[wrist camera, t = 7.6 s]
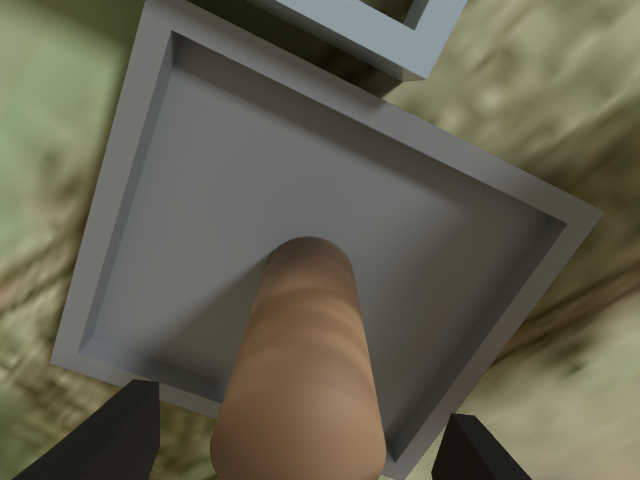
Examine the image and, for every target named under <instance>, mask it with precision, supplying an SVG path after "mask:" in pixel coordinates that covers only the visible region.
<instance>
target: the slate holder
mask: <svg viewBox="0 0 640 480" xmlns="http://www.w3.org/2000/svg"><path fill="white" fill-rule="evenodd" d="M245 1H247V2H249V3H251V4H253V5H255V6H257V7H259V8H261V9H263V10H265V11H267V12H269V13H270V14H272V15H274V16H276V17H278V18H280V19H282V20H284V21H286V22H288V23H290V24H292V25H294V26H296V27H298V28H299V29H301V30H303V31H305V32H307V33H309V34H311V35H313V36H315V37H317V38H319V39H321V40H323V41H325V42H327V43H328V44H330V45H332V46H334V47H336V48H338V49H340V50H342V51H344V52H346V53H348V54H350V55H352V56H354V57H356V58H357V59H359V60H361V61H363V62H365V63H367V64H369V65H371V66H373V67H375V68H377V69H379V70H381V71H383V72H385V73H386V74H388V75H390V76H392V77H394V78H396V79H398V80H400V81H402V82H409V81H418V80H427V78H428V76H429V74H430V72H431V70H432V68H433V66H434V64H435V63H436V61H437V59H438V57H439V55H440V53H441V51H442V49H443V47H444V45H445V43H446V41H447V39H448V37H449V35H450V33H451V32H452V30H453V28H454V26H455V24H456V22H457V20H458V18H459V16H460V14H461V12H462V10H463V8H464V6H465V4H466V2H467V1H468V0H414V1H413V3H412V5H411V7H410V9H409V11H408V13H407V15H406V17H405V20H404V22H403V24H401V23H400V22H398V21H396V20H394V19H392V18H390V17H388V16H387V15H385V14H383V13H381V12H379V11H377V10H376V9H374V8H372V7H370V6H368V5H366V4H365V3H363V2H361V1H359V0H245Z"/></svg>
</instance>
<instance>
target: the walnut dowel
mask: <svg viewBox="0 0 640 480" xmlns="http://www.w3.org/2000/svg"><path fill="white" fill-rule="evenodd" d="M210 455H211V461H212V464H213V468H214V470H215V472H216V474H217V476H218V477H219V479H220V480H378V478H379V477H380V475H381V473H382V470H383V468H384V464H385V459H386V444H385V438H384V433H383V428H382V422H381V417H380V412H379V406H378V401H377V396H376V390H375V385H374V380H373V374H372V369H371V364H370V358H369V353H368V348H367V342H366V337H365V332H364V326H363V321H362V316H361V310H360V305H359V300H358V294H357V289H356V284H355V278H354V273H353V268H352V265H351V262H350V260H349V259H348V257H347V255H346V254H345V253H344V252H343V251H342V250H341V249H340V248H339V247H338V246H337V245H335V244H334V243H332V242H330V241H328V240H325V239H322V238H319V237H310V236H305V237H298V238H294V239H291V240H288V241H286V242H285V243H283V244H281V245H280V246H278V247H277V248H276V249H275V250H274V251H273V252H272V254H271V255H270V256H269V258H268V260H267V262H266V264H265V268H264V271H263V274H262V277H261V280H260V284H259V287H258V290H257V293H256V297H255V300H254V303H253V306H252V309H251V313H250V316H249V319H248V322H247V325H246V329H245V332H244V335H243V338H242V341H241V345H240V348H239V351H238V354H237V357H236V361H235V364H234V367H233V370H232V373H231V377H230V380H229V383H228V386H227V389H226V393H225V396H224V399H223V402H222V405H221V409H220V412H219V415H218V418H217V421H216V425H215V428H214V431H213V435H212V438H211V444H210Z"/></svg>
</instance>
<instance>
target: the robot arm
mask: <svg viewBox="0 0 640 480" xmlns="http://www.w3.org/2000/svg"><path fill="white" fill-rule="evenodd" d="M159 446H160V400H159V382H156V381H146V380H137V379H133V380H132V381H130V382H129V383H128V384H127V385H126V386H124V387H123V388H122V389H121V390H120V391H119V392H117V393H116V394H115V395H114V396H113V397H112V398H111V399H109V400H108V401H107V402H106V403H105V404H104V405H103V406H101V407H100V408H99V409H98V410H97V411H96V412H95V413H93V414H92V415H91V416H90V417H89V418H87V419H86V420H85V421H84V422H83V423H82V424H80V425H79V426H78V427H77V428H76V429H74V430H73V431H72V432H71V433H70V434H68V435H67V436H66V437H65V438H64V439H62V440H61V441H60V442H59V443H57V444H56V445H55V446H54V447H53V448H51V449H50V450H49V451H48V452H46V453H45V454H44V455H43V456H41V457H40V458H39V459H38V460H36V461H35V462H34V463H32V464H31V465H30V466H29V467H27V468H26V469H25V470H23V471H22V472H21V473H19V474H18V475H17V476H15V477H14V478H13V479H12V480H148V477H149V475H150V472H151V469H152V466H153V464H154V461H155V458H156V455H157V452H158V449H159ZM431 473H432V479H433V480H532V479H531V478H530V477H529V476H528V475H527V473H526V472H525V471H524V470H523V469H522V468H521V467H520V466H519V465H518V463H517V462H516V461H515V460H514V459H513V458H512V457H511V456H510V454H509V453H508V452H507V451H506V450H505V449H504V448H503V447H502V445H501V444H500V443H499V442H498V441H497V440H496V439H495V437H494V436H493V435H492V434H491V433H490V432H489V431H488V430H487V428H486V427H485V426H484V425H483V424H482V423H481V422H480V421H479V420H478V419H477V418H476V417H475V416H473V415H464V414H455V413H451V414H450V417H449V420H448V423H447V426H446V429H445V432H444V435H443V438H442V441H441V444H440V447H439V450H438V453H437V456H436V459H435V462H434V465H433V468H432V471H431Z"/></svg>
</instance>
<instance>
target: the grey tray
mask: <svg viewBox="0 0 640 480" xmlns="http://www.w3.org/2000/svg"><path fill="white" fill-rule="evenodd" d="M604 213H605V211H603V210H601V209H599V208H597V207H595V206H593V205H591V204H589V203H587V202H585V201H583V200H581V199H579V198H577V197H575V196H573V195H571V194H569V193H567V192H565V191H563V190H561V189H559V188H557V187H555V186H553V185H551V184H549V183H547V182H545V181H543V180H541V179H539V178H537V177H535V176H533V175H531V174H529V173H527V172H525V171H523V170H521V169H519V168H517V167H515V166H513V165H511V164H509V163H507V162H505V161H503V160H501V159H500V158H498V157H496V156H494V155H492V154H490V153H488V152H486V151H484V150H482V149H480V148H478V147H476V146H474V145H472V144H470V143H468V142H466V141H464V140H462V139H460V138H458V137H456V136H454V135H452V134H450V133H448V132H446V131H444V130H442V129H440V128H438V127H436V126H434V125H432V124H430V123H428V122H426V121H424V120H422V119H420V118H418V117H416V116H414V115H412V114H410V113H408V112H406V111H404V110H402V109H400V108H398V107H396V106H394V105H392V104H390V103H388V102H387V101H385V100H383V99H381V98H379V97H377V96H375V95H373V94H371V93H369V92H367V91H365V90H363V89H361V88H359V87H357V86H355V85H353V84H351V83H349V82H347V81H345V80H343V79H341V78H339V77H337V76H335V75H333V74H331V73H329V72H327V71H325V70H323V69H321V68H319V67H317V66H315V65H313V64H311V63H309V62H307V61H305V60H303V59H301V58H299V57H297V56H295V55H293V54H291V53H289V52H287V51H285V50H283V49H281V48H279V47H277V46H275V45H274V44H272V43H270V42H268V41H266V40H264V39H262V38H260V37H258V36H256V35H254V34H252V33H250V32H248V31H246V30H244V29H242V28H240V27H238V26H236V25H234V24H232V23H230V22H228V21H226V20H224V19H222V18H220V17H218V16H216V15H214V14H212V13H210V12H208V11H206V10H204V9H202V8H200V7H198V6H196V5H194V4H192V3H190V2H188V1H186V0H145V3H144V7H143V11H142V14H141V18H140V22H139V26H138V30H137V33H136V37H135V41H134V45H133V49H132V52H131V56H130V60H129V64H128V68H127V71H126V75H125V79H124V83H123V87H122V90H121V94H120V98H119V102H118V106H117V109H116V113H115V117H114V121H113V124H112V128H111V132H110V136H109V140H108V143H107V147H106V151H105V155H104V159H103V162H102V166H101V170H100V174H99V178H98V181H97V185H96V189H95V193H94V197H93V200H92V204H91V208H90V212H89V216H88V219H87V223H86V227H85V231H84V234H83V238H82V242H81V246H80V250H79V253H78V257H77V261H76V265H75V269H74V272H73V276H72V280H71V284H70V288H69V291H68V295H67V299H66V303H65V307H64V310H63V314H62V318H61V322H60V326H59V329H58V333H57V337H56V341H55V344H54V348H53V352H52V356H51V360H50V364H53V365H56V366H59V367H62V368H65V369H68V370H70V371H73V372H76V373H79V374H82V375H85V376H88V377H91V378H94V379H97V380H100V381H103V382H106V383H109V384H112V385H115V386H118V387H121V388H123V387H124V386H126V385H127V384H128V383H129V382H130V381H132V380H133V379H137V380H146V381H156V382H159V400H160V401H163V402H166V403H169V404H172V405H175V406H178V407H181V408H184V409H187V410H190V411H193V412H196V413H199V414H202V415H205V416H208V417H211V418H214V419H217V418H218V415H219V412H220V409H221V405H222V402H223V399H224V396H225V393H226V389H227V386H228V383H229V380H230V377H231V373H232V370H233V367H234V364H235V361H236V357H237V354H238V351H239V348H240V345H241V341H242V338H243V335H244V332H245V329H246V325H247V322H248V319H249V316H250V313H251V309H252V306H253V303H254V300H255V297H256V293H257V290H258V287H259V284H260V280H261V277H262V274H263V271H264V268H265V264H266V262H267V260H268V258H269V256H270V255H271V254H272V252H273V251H274V250H275V249H276V248H277V247H278V246H280V245H281V244H283V243H285V242H286V241H288V240H291V239H294V238H298V237H305V236H310V237H319V238H322V239H325V240H328V241H330V242H332V243H334V244H335V245H337V246H338V247H339V248H340V249H341V250H342V251H343V252H344V253H345V254H346V255H347V257H348V259H349V260H350V262H351V265H352V268H353V273H354V278H355V284H356V289H357V294H358V300H359V305H360V310H361V316H362V321H363V326H364V332H365V337H366V342H367V348H368V353H369V358H370V364H371V369H372V374H373V380H374V385H375V390H376V396H377V401H378V406H379V412H380V417H381V422H382V428H383V433H384V438H385V444H386V459H385V464H384V468H383V470H382V473H381V475H384V476H387V477H390V478H393V479H396V480H405V479H406V477H407V476H408V475H409V473H410V472H411V471H412V469H413V468H414V467H415V465H416V464H417V463H418V461H419V460H420V459H421V457H422V456H423V455H424V453H425V452H426V451H427V449H428V448H429V447H430V445H431V444H432V443H433V441H434V440H435V439H436V437H437V436H438V435H439V433H440V432H441V431H442V429H443V428H444V427H445V425H446V424H447V423H448V420H449V417H450V414H451V413H455V412H456V411H457V409H458V408H459V407H460V405H461V404H462V403H463V401H464V400H465V399H466V397H467V396H468V395H469V393H470V392H471V391H472V389H473V388H474V387H475V385H476V384H477V382H478V381H479V380H480V378H481V377H482V376H483V374H484V373H485V372H486V370H487V369H488V368H489V366H490V365H491V364H492V362H493V361H494V360H495V358H496V357H497V356H498V354H499V353H500V352H501V350H502V349H503V348H504V346H505V345H506V344H507V342H508V341H509V340H510V338H511V337H512V336H513V334H514V333H515V332H516V330H517V329H518V328H519V326H520V325H521V324H522V322H523V321H524V320H525V318H526V317H527V316H528V314H529V313H530V312H531V310H532V309H533V308H534V306H535V305H536V304H537V302H538V301H539V300H540V298H541V297H542V296H543V294H544V293H545V292H546V290H547V289H548V288H549V286H550V285H551V284H552V282H553V281H554V280H555V278H556V277H557V276H558V274H559V273H560V272H561V270H562V269H563V268H564V266H565V265H566V264H567V262H568V261H569V260H570V258H571V257H572V256H573V254H574V253H575V252H576V250H577V249H578V248H579V246H580V245H581V244H582V242H583V241H584V240H585V238H586V237H587V236H588V234H589V233H590V232H591V230H592V229H593V228H594V226H595V225H596V224H597V222H598V221H599V220H600V218H601V217H602V216H603V214H604Z"/></svg>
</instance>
